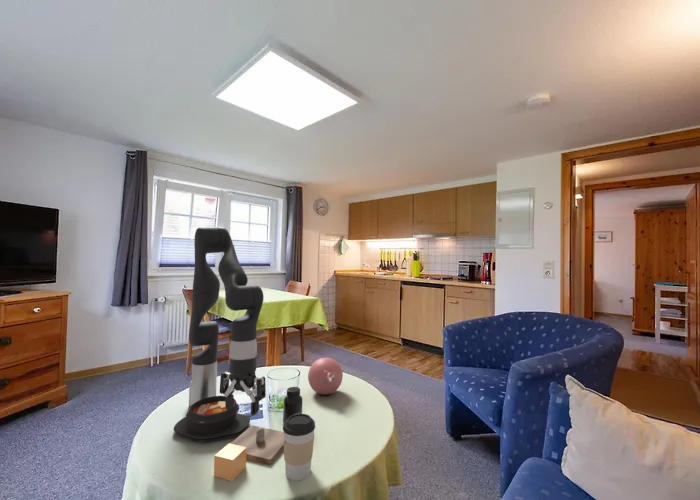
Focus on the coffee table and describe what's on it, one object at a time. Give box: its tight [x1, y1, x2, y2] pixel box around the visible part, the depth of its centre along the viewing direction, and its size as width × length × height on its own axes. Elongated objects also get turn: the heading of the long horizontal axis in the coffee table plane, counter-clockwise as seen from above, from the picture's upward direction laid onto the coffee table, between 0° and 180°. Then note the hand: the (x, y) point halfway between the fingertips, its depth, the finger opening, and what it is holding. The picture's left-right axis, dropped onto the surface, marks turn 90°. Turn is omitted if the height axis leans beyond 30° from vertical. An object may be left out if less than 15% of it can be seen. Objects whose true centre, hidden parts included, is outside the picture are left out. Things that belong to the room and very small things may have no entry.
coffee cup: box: [282, 413, 316, 481], centre depth 88 cm, size 9×9×15 cm
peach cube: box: [213, 442, 247, 482], centre depth 88 cm, size 6×6×6 cm
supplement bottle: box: [282, 386, 303, 423], centre depth 114 cm, size 7×7×12 cm
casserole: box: [173, 395, 251, 440], centre depth 109 cm, size 25×19×8 cm
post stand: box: [229, 424, 284, 466], centre depth 100 cm, size 16×14×6 cm
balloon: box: [307, 357, 344, 396], centre depth 137 cm, size 15×20×15 cm
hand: (241, 411), depth 90 cm, fingers open, 8 cm apart
